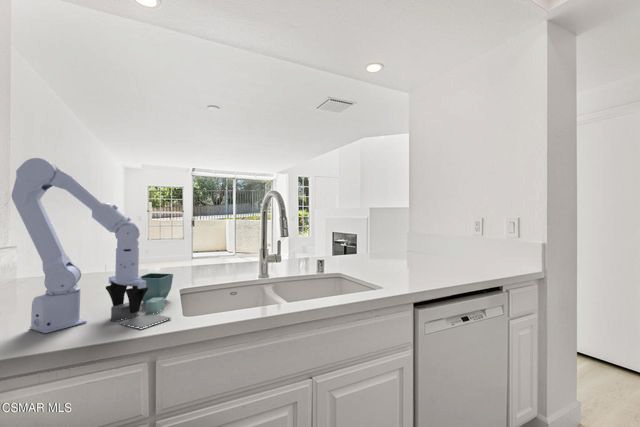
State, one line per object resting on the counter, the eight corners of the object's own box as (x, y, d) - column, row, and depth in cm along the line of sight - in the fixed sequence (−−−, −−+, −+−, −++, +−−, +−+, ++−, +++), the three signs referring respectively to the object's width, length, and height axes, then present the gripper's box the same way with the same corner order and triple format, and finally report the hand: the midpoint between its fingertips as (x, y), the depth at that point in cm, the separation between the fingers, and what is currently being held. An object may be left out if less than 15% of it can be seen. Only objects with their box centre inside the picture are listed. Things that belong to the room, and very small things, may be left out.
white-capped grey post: (115, 321, 86) (116, 308, 86) (108, 319, 87) (108, 307, 87) (142, 314, 93) (142, 302, 93) (135, 312, 95) (135, 300, 95)
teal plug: (155, 314, 93) (155, 302, 93) (143, 314, 92) (143, 302, 93) (166, 307, 101) (166, 296, 101) (155, 307, 100) (156, 296, 100)
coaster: (140, 329, 80) (141, 327, 80) (119, 324, 84) (119, 321, 84) (171, 319, 88) (171, 317, 88) (150, 315, 92) (150, 313, 92)
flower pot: (160, 305, 103) (160, 278, 103) (134, 304, 103) (134, 277, 103) (173, 298, 111) (173, 273, 112) (149, 297, 112) (149, 273, 112)
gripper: (156, 263, 91) (155, 310, 91) (125, 260, 97) (124, 303, 97) (132, 267, 85) (131, 317, 84) (101, 263, 91) (100, 309, 91)
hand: (126, 310), depth 90 cm, fingers open, 7 cm apart
